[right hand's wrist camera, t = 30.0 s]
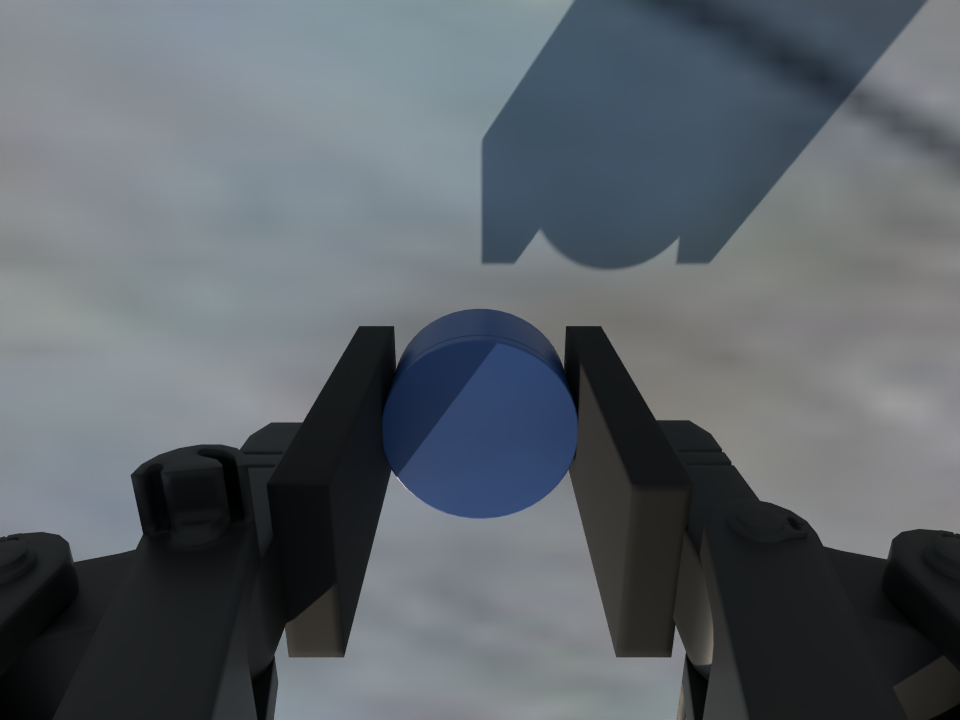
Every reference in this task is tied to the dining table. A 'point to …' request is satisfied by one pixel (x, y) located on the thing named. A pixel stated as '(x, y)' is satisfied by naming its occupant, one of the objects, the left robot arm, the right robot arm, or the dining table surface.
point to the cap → (480, 415)
